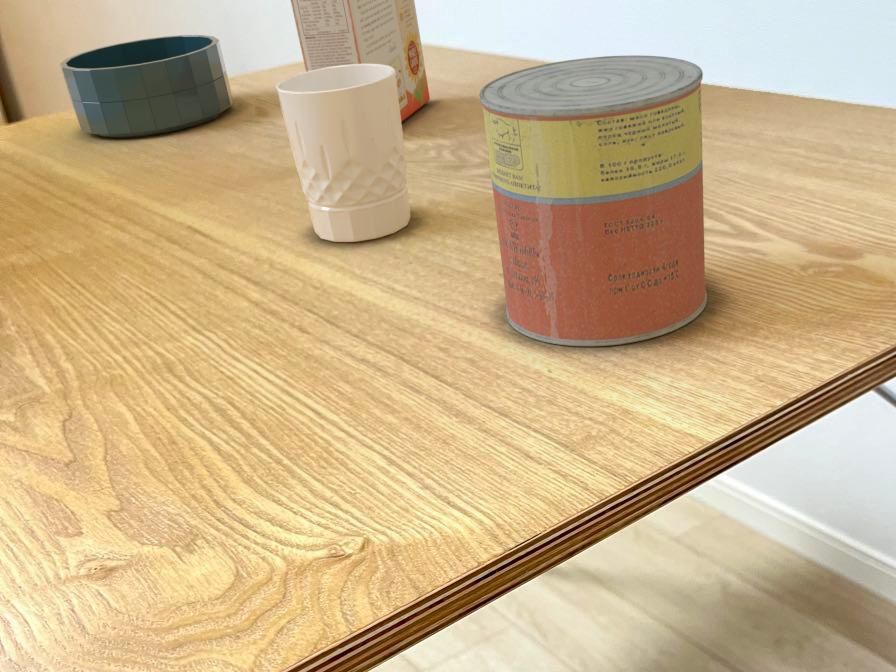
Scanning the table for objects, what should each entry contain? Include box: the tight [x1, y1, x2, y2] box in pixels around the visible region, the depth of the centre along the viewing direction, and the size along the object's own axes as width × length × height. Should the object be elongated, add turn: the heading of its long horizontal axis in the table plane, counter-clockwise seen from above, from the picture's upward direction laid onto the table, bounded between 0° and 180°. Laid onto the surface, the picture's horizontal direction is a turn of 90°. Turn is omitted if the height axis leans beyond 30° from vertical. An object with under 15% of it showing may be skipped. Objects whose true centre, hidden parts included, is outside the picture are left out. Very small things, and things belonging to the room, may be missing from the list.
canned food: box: [478, 55, 708, 347], centre depth 61 cm, size 11×11×12 cm
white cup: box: [274, 64, 412, 243], centre depth 78 cm, size 8×8×10 cm
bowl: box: [59, 34, 234, 139], centre depth 114 cm, size 15×15×6 cm
